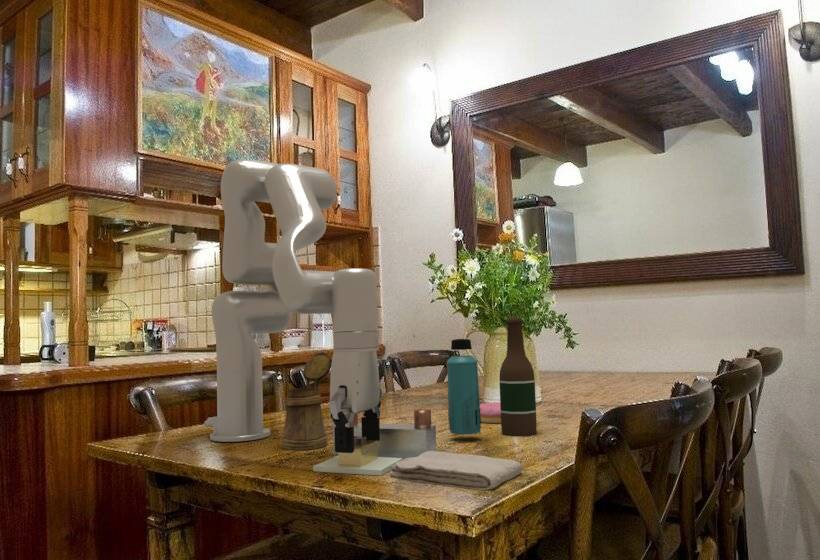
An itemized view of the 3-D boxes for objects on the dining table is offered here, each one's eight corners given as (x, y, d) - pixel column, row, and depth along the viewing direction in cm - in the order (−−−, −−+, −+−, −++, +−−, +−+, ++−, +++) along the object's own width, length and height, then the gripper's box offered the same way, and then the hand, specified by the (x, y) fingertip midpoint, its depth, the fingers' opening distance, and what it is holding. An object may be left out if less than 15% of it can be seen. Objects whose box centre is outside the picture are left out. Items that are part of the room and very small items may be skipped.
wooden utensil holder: (344, 438, 131) (342, 351, 132) (314, 451, 118) (312, 355, 120) (306, 437, 134) (304, 352, 135) (272, 449, 121) (271, 355, 122)
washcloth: (425, 465, 106) (424, 446, 106) (525, 476, 97) (524, 455, 97) (385, 481, 96) (384, 460, 96) (492, 495, 87) (491, 472, 87)
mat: (313, 471, 102) (313, 466, 102) (339, 459, 110) (339, 454, 110) (380, 475, 98) (380, 470, 98) (402, 463, 106) (402, 458, 106)
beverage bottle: (480, 442, 122) (476, 338, 123) (446, 442, 123) (442, 339, 125) (483, 436, 128) (479, 337, 130) (450, 436, 130) (447, 338, 131)
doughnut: (529, 423, 145) (528, 404, 145) (484, 426, 142) (483, 407, 142) (510, 416, 155) (510, 399, 155) (468, 419, 153) (467, 402, 153)
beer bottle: (543, 431, 132) (538, 316, 134) (529, 437, 126) (524, 317, 127) (509, 429, 136) (504, 317, 138) (494, 435, 130) (489, 318, 131)
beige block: (338, 465, 102) (338, 440, 102) (356, 457, 108) (355, 433, 108) (361, 467, 100) (360, 441, 101) (377, 458, 106) (377, 434, 107)
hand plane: (333, 454, 115) (332, 399, 115) (346, 449, 119) (345, 395, 120) (426, 459, 108) (425, 400, 109) (436, 453, 113) (434, 397, 113)
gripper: (358, 341, 115) (360, 436, 114) (309, 345, 99) (311, 456, 98) (396, 340, 112) (399, 438, 111) (352, 344, 96) (355, 458, 95)
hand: (358, 446), depth 104 cm, fingers open, 9 cm apart
